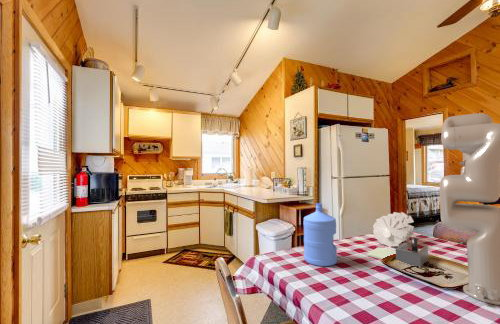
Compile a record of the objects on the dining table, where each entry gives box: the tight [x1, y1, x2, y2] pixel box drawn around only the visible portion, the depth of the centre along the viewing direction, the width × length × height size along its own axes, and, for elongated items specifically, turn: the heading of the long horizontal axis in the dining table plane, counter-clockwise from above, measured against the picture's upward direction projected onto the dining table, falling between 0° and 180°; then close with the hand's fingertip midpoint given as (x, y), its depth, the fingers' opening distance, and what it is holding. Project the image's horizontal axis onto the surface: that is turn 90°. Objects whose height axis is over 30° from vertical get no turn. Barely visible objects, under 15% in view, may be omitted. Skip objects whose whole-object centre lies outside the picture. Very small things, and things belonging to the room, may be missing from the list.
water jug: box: [303, 202, 338, 267], centre depth 118 cm, size 16×16×28 cm
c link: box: [395, 242, 429, 268], centre depth 117 cm, size 14×10×6 cm
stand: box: [410, 236, 419, 252], centre depth 120 cm, size 4×4×10 cm
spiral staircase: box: [372, 211, 415, 248], centre depth 144 cm, size 18×18×25 cm
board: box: [366, 246, 396, 260], centre depth 125 cm, size 16×11×1 cm
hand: (475, 199), depth 116 cm, fingers open, 9 cm apart
